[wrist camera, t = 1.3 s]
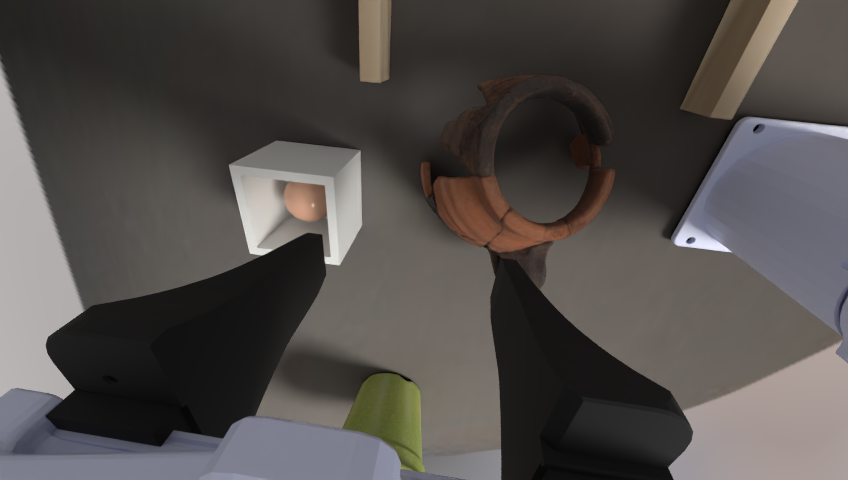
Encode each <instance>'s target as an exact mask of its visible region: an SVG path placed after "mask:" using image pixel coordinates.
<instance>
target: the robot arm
mask: <svg viewBox="0 0 848 480" xmlns="http://www.w3.org/2000/svg"><path fill="white" fill-rule="evenodd" d="M758 124H759V127H758V129H757V130H755V131H754V132H753V129H754V127H755V126H756V125H758ZM690 237H691V239H690V240H688V241H686V240H687V239H688V238H690ZM671 241H672V242H673V243H674V244H675V245H678V246H684V247H692V248H700V249H709V250H717V251H725V252H733V253H734V254H735V255H736V256H738V257H739V258H740V259H742V260H743V261H744V262H746V263H747V264H748V265H750V266H751V267H752V268H753V269H755V270H756V271H757V272H759V273H760V274H761V275H763V276H764V277H765V278H767V279H768V280H769V281H771V282H772V283H773V284H774V285H776V286H777V287H778V288H780V289H781V290H782V291H784V292H785V293H786V294H788V295H789V296H790V297H791V298H793V299H794V300H795V301H797V302H798V303H799V304H801V305H802V306H803V307H805V308H806V309H807V310H809V311H810V312H811V313H812V314H814V315H815V316H816V317H818V318H819V319H820V320H822V321H823V322H824V323H826V324H827V325H828V326H829V327H831V328H832V329H833V330H835V331H836V332H837V333H839V334H840V335H841V336H843V341H842V343H841V346H840V347H839V348H838V349H837V351H836V354H837V355H839V356H840V357H841V358H842V359H844V360H845V361H846V362H847V363H848V127H845V126H836V125H826V124H816V123H807V122H797V121H787V120H778V119H768V118H758V117H745V118H742V119H740V120H739V121H738V122H737V123H736V124H735V126H734V127H733V129H732V131H731V133H730V134H729V136H728V138H727V140H726V142H725V143H724V145H723V147H722V149H721V150H720V152H719V154H718V156H717V157H716V159H715V161H714V163H713V164H712V166H711V168H710V170H709V171H708V173H707V175H706V177H705V179H704V180H703V182H702V184H701V186H700V187H699V189H698V191H697V193H696V194H695V196H694V198H693V200H692V201H691V203H690V205H689V207H688V208H687V210H686V212H685V214H684V216H683V217H682V219H681V221H680V223H679V224H678V226H677V228H676V230H675V231H674V233H673V235H672V237H671ZM325 276H326V267H325V257H324V247H323V236H322V234H315V233H305V234H303V235H301V236H299V237H297V238H295V239H293V240H291V241H289V242H288V243H286V244H284V245H282V246H280V247H278V248H276V249H274V250H272V251H270V252H268V253H267V254H265V255H262V256H260V257H258V258H256V259H254V260H252V261H250V262H248V263H246V264H243V265H241V266H239V267H237V268H234V269H232V270H229V271H227V272H224V273H222V274H219V275H216V276H214V277H211V278H208V279H205V280H201V281H198V282H195V283H192V284H189V285H185V286H182V287H179V288H175V289H171V290H167V291H163V292H159V293H155V294H151V295H146V296H142V297H137V298H132V299H127V300H121V301H116V302H110V303H105V304H99V305H93V306H91V307H90V308H88V309H87V310H86V311H84V312H83V313H81V314H80V315H79V316H77V317H76V318H74V319H73V320H71V321H70V322H69V323H67V324H66V325H64V326H63V327H62V328H60V329H59V330H57V331H56V332H54V333H53V334H52V335H50V336H49V337H48V339H47V342H46V349H47V353H48V355H49V356H50V358H51V360H52V361H53V363H54V364H55V365H56V366H57V368H58V369H59V370H60V371H61V373H62V374H63V375H64V376H65V378H66V379H67V380H68V381H69V383H70V384H71V385H72V386H73V388H74V389H75V390H74V391H73V392H72V393H71V394H70V395H69V396H67V397H66V398H65V399H64V400H63V399H61V398H60V397H58V396H56V395H53V394H49V393H43V392H37V391H31V390H25V389H19V388H15V389H11V390H10V391H8V392H7V393H6V394H4V395H3V396H2V397H0V480H464V479H458V478H452V477H446V476H440V475H434V474H428V473H423V472H417V471H411V470H405V469H401V462H400V459H399V457H398V455H397V452H396V451H395V449H394V448H393V447H392V446H391V445H389V444H388V443H386V442H385V441H383V440H382V439H381V438H379V437H376V436H372V435H369V434H366V433H363V432H359V431H353V430H347V429H341V428H335V427H328V426H322V425H316V424H310V423H304V422H298V421H292V420H286V419H280V418H274V417H268V416H255V415H256V413H257V410H258V408H259V405H260V403H261V400H262V398H263V396H264V393H265V391H266V389H267V387H268V384H269V382H270V380H271V378H272V375H273V373H274V371H275V369H276V367H277V365H278V362H279V360H280V358H281V356H282V354H283V352H284V350H285V348H286V346H287V344H288V343H289V341H290V339H291V337H292V336H293V334H294V332H295V331H296V329H297V328H298V326H299V324H300V323H301V321H302V320H303V318H304V316H305V315H306V313H307V312H308V310H309V308H310V307H311V305H312V303H313V302H314V300H315V298H316V297H317V295H318V293H319V291H320V288H321V286H322V284H323V281H324V279H325ZM491 325H492V332H493V339H494V345H495V352H496V359H497V365H498V373H499V385H500V410H501V456H502V457H501V460H502V462H501V463H502V467H501V470H502V472H501V473H502V475H501V479H502V480H673V477H672V475H671V473H670V471H669V469H668V467H669V466H670V465H671V464H672V463H673V462H674V461H675V460H676V459H677V457H678V456H680V455H681V454H682V452H684V451H685V449H686V448H687V447H688V445H689V444H690V442H691V440H692V435H693V431H692V428H691V426H690V424H689V422H688V420H687V419H686V417H685V415H684V413H683V412H682V410H681V408H680V407H679V405H678V403H677V402H676V400H675V398H674V397H673V395H672V394H671V392H670V391H669V390H667V389H665V388H663V387H662V386H660V385H658V384H657V383H655V382H653V381H651V380H650V379H648V378H646V377H645V376H643V375H641V374H639V373H638V372H636V371H634V370H633V369H631V368H630V367H628V366H627V365H625V364H624V363H622V362H621V361H619V360H618V359H616V358H615V357H613V356H612V355H610V354H609V353H608V352H606V351H605V350H603V349H602V348H601V347H599V346H598V345H597V344H596V343H594V342H593V341H592V340H590V339H589V338H588V337H587V336H585V335H584V334H583V333H582V332H581V331H579V330H578V329H577V328H576V327H575V326H574V325H573V324H572V323H571V322H569V321H568V320H567V319H566V318H565V317H564V316H563V315H562V314H561V313H560V312H559V311H558V310H557V309H556V308H555V307H554V306H553V305H552V304H551V303H550V301H549V300H548V299H547V298H546V297H545V296H544V295H543V294H542V292H541V291H540V290H539V289H538V288H537V286H536V285H535V284H534V283H533V281H532V280H531V279H530V277H529V276H528V275H527V274H526V272H525V271H524V270H523V268H522V267H521V266H520V264H519V263H518V262H517V260H513V259H506V258H500V262H499V266H498V270H497V274H496V278H495V282H494V286H493V289H492V293H491Z"/></svg>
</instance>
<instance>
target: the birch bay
mask: <svg viewBox="0 0 848 480" xmlns="http://www.w3.org/2000/svg"><path fill="white" fill-rule="evenodd" d="M797 1H798V0H731V1H730V3H729V5H728V7H727V9H726V11H725V13H724V16H723V18H722V20H721V22H720V24H719V26H718V28H717V30H716V33H715V35H714V37H713V39H712V41H711V43H710V45H709V47H708V50H707V52H706V54H705V56H704V58H703V60H702V62H701V65H700V67H699V69H698V71H697V73H696V75H695V77H694V79H693V82H692V84H691V86H690V88H689V90H688V92H687V94H686V96H685V99H684V101H683V103H682V105H681V107H680V109H682V110H685V111H689V112H692V113H696V114H699V115H703V116H706V117H710V118H719V119H729V120H732V118H733V116H734V114H735V113H736V111H737V109H738V107H739V105H740V104H741V102H742V100H743V98H744V96H745V95H746V93H747V91H748V89H749V88H750V86H751V84H752V82H753V80H754V79H755V77H756V75H757V73H758V71H759V70H760V68H761V66H762V64H763V62H764V61H765V59H766V57H767V55H768V53H769V52H770V50H771V48H772V46H773V44H774V43H775V41H776V39H777V37H778V36H779V34H780V32H781V30H782V28H783V27H784V25H785V23H786V21H787V19H788V18H789V16H790V14H791V12H792V10H793V9H794V7H795V5H796V3H797ZM390 35H391V0H359V53H360V81H365V82H374V83H381V82H383V81H386V80H388V79H389V76H390Z"/></svg>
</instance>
